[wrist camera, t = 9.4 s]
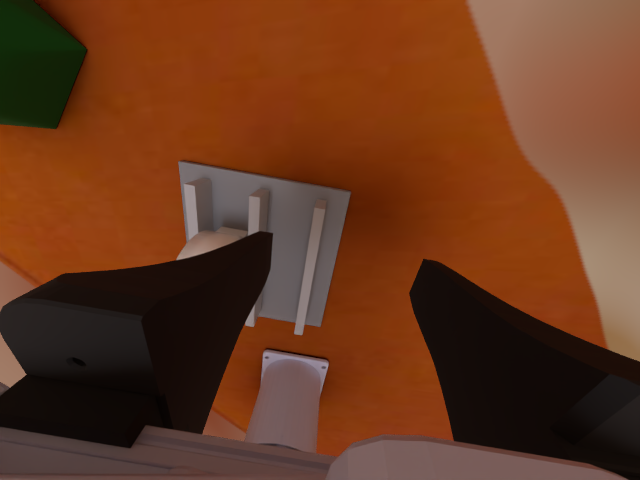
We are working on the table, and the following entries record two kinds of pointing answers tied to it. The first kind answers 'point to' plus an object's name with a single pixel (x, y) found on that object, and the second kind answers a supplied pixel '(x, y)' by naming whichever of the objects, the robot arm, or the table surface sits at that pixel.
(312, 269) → the dish rack
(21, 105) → the milk carton
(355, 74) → the table surface
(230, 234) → the cream round puck
